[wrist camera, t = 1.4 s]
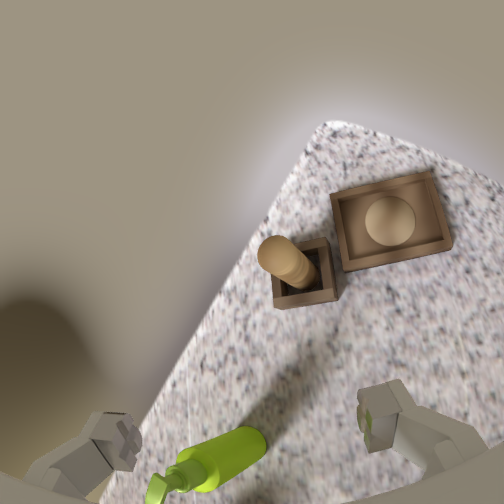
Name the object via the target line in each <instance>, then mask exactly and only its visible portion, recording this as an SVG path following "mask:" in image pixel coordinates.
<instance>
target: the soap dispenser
mask: <svg viewBox="0 0 504 504" xmlns="http://www.w3.org/2000/svg"><path fill="white" fill-rule="evenodd" d="M265 452H266V441H265V438H264V436H263V435H262V434H261V433H260V432H259V431H258V430H257V429H255V428H252V427H249V426H243V427H239V428H237V429H234V430H232V431H230V432H227V433H225V434H223V435H220V436H218V437H215V438H213V439H210V440H208V441H205V442H203V443H200V444H198V445H195V446H192V447H189V448H187V449H184V450H183V451H181V452H180V453H179V455H178V457H177V460H176V464H175V465H172V466H170V467H169V468H167V470H166V473H165V477H163V476H161V475H160V474H158V473H154V474H153V475H152V478H151V481H150V483H149V486H148V489H147V493H146V498H145V504H164V501H165V498H166V496H167V493H168V492H171V491H173V490H175V491H177V492H179V493H186V492H188V491H190V490H192V489H193V490H195V491H197V492H202V493H206V492H210V491H213V490H214V489H216V488H217V487H219V486H221V485H222V484H224V483H225V482H227V481H229V480H230V479H232V478H233V477H235V476H236V475H238V474H239V473H241V472H242V471H244V470H245V469H247V468H248V467H249V466H251V465H252V464H254V463H255V462H257V461H258V460H259V459H261V458H262V457H263V456H264V454H265Z"/></svg>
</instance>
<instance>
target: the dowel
mask: <svg viewBox="0 0 504 504" xmlns="http://www.w3.org/2000/svg"><path fill="white" fill-rule="evenodd" d="M257 258H258V262H259V264H260V266H261V267H262V268H263V269H264V270H266V271H267V272H269V273H271V274H273V275H274V276H276V277H278V278H279V279H281V280H283V281H285V282H286V283H288V284H290V285H292V286H293V287H295V288H297V289H299V290H301V291H310V290H312V289H314V288H315V287H316V286H317V285H318V283H319V280H320V272H319V270H318V268H317V267H316V266H315V265H314V264H313V263H312V262H311V261H310V260H309V259H308V258H307V257H306V256H305V255H304V254H303V253H302V252H301V251H300V250H299V249H298V248H297V247H296V246H295V245H293V244H292V243H291V242H290V241H289V240H288V239H287V238H286V237H284V236H280V235H275V236H271V237H269V238H267V239H266V240H264V241H263V242H262V244H261V245H260V247H259V249H258V254H257Z"/></svg>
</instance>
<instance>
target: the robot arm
mask: <svg viewBox="0 0 504 504" xmlns="http://www.w3.org/2000/svg"><path fill="white" fill-rule="evenodd" d="M357 399H358V402H359V405H358V406H357V421H358V425H359V428H360V431H361V432H363V433H364V442H365V445H366V448H367V451H368V453H373V452H377V451H381V450H385V449H389V448H392V449H393V450H395V451H396V452H398V453H399V454H401V455H402V456H403V457H405V458H406V459H408V460H409V461H411V462H412V463H414V464H415V465H417V466H418V467H420V468H421V469H423V470H424V471H425V472H424V475H423V477H422V480H421V481H418V482H415V483H413V484H410V485H407V486H404V487H401V488H398V489H395V490H392V491H388V492H385V493H382V494H378V495H375V496H371V497H367V498H364V499H360V500H356V501H351V502H347V503H342V504H504V441H503V442H501V443H500V444H498V445H496V446H494V447H493V448H491V449H488V447H487V446H486V444H485V443H484V441H483V440H482V438H481V437H480V435H479V434H478V432H477V431H476V430H475V428H474V427H472V426H470V425H467V424H465V423H462V422H460V421H457V420H455V419H452V418H450V417H447V416H445V415H442V414H440V413H438V412H435V411H433V410H430V409H428V408H426V407H423V406H418V407H417V405H416V404H415V402H414V400H413V399H412V397H411V396H410V394H409V392H408V391H407V389H406V387H405V386H404V384H403V383H402V381H401V380H400V379H396V380H392V381H389V382H385V383H382V384H379V385H375V386H371V387H367V388H363V389H359V390H358V392H357ZM133 421H134V420H133V418H132V416H131V415H130V414H128V413H117V412H100V411H95V412H93V413H92V414H91V416H90V417H89V419H88V421H87V422H86V424H85V426H84V427H83V429H82V431H81V433H80V434H79V436H78V437H74V438H72V439H71V440H69V441H67V442H66V443H64V444H62V445H61V446H59V447H57V448H56V449H54V450H52V451H51V452H49V453H47V454H46V455H44V456H42V457H40V458H39V459H37V460H35V461H34V462H33V463H32V465H31V467H30V468H29V470H28V471H27V473H26V475H25V476H24V478H23V480H19V479H17V478H14V477H12V476H9V475H7V474H5V473H3V472H0V504H97V503H93V502H89V501H88V500H87V499H86V498H85V497H86V495H88V494H89V493H90V492H91V491H92V490H93V489H95V488H96V487H97V486H98V485H99V484H100V483H101V482H102V481H103V480H104V479H106V478H107V477H108V476H109V475H110V474H111V473H112V472H113V470H117V471H127V472H133V470H134V467H135V464H136V461H137V458H136V456H135V455H136V454H137V453H138V452H140V450H141V447H142V436H141V433H140V431H139V429H138V428H137V427H135V426H134V425H133Z"/></svg>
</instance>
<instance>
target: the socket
mask: <svg viewBox="0 0 504 504" xmlns="http://www.w3.org/2000/svg"><path fill="white" fill-rule="evenodd" d="M293 245H295V246H296V247H297V248H298V249H299V250H300V251H301V252H302V253H303V254H304V255H305V256H306V257H310V256H315V255H319V260H320V267H321V274H322V281H323V289H324V290H319V291H313V292H308V293H302V294H296V295H291V296H289V295H288V286H287V283H286V282H285V281H283V280H281V279H279V278H278V277H276V276H274V275H273V274H271V281H272V292H273V303H274V308H277V309H280V310H284V309H291V308H297V307H303V306H309V305H315V304H321V303H327V302H333V301H338V296H337V288H336V281H335V274H334V267H333V261H332V254H331V248H330V243H329V242H328V240H327V239H326V237H323V238H318V239H314V240H309V241H305V242H300V243H296V244H293Z"/></svg>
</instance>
